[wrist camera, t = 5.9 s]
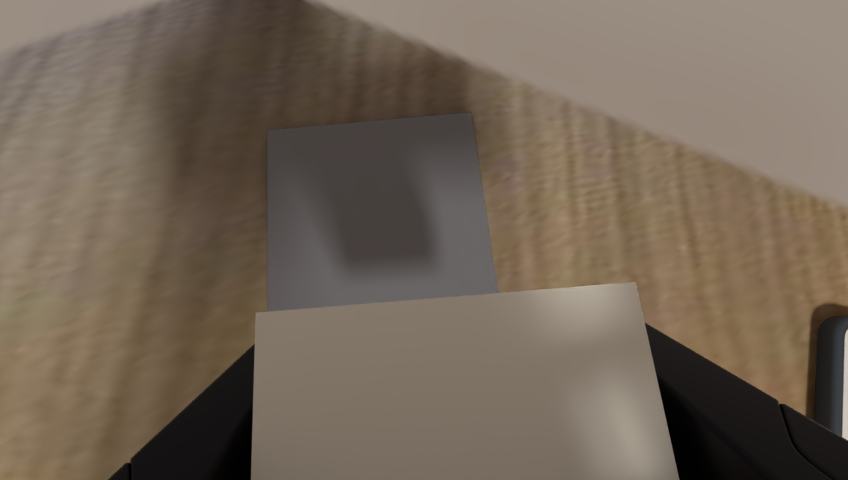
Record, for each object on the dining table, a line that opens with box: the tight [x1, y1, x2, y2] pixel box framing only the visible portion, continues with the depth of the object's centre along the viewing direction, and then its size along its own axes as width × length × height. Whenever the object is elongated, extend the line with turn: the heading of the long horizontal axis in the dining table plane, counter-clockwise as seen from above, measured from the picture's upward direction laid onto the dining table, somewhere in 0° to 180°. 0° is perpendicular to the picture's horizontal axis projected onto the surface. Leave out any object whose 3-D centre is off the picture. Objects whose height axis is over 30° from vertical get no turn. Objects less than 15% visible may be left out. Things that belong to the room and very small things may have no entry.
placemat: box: [267, 112, 498, 312], centre depth 21 cm, size 20×12×1 cm, turn 6°
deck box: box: [251, 282, 679, 480], centre depth 9 cm, size 3×5×10 cm, turn 95°
